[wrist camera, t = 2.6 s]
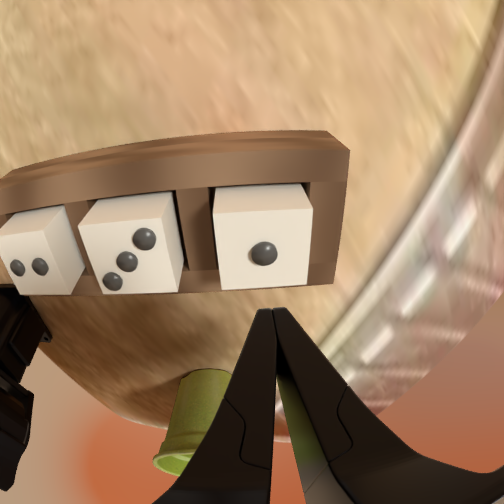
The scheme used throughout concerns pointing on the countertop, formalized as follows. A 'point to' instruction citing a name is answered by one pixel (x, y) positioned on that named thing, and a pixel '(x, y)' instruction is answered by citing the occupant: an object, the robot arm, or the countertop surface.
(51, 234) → the tile two dot
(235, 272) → the tile one dot
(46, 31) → the countertop surface
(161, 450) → the plant pot
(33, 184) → the tile board
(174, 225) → the tile three dot
